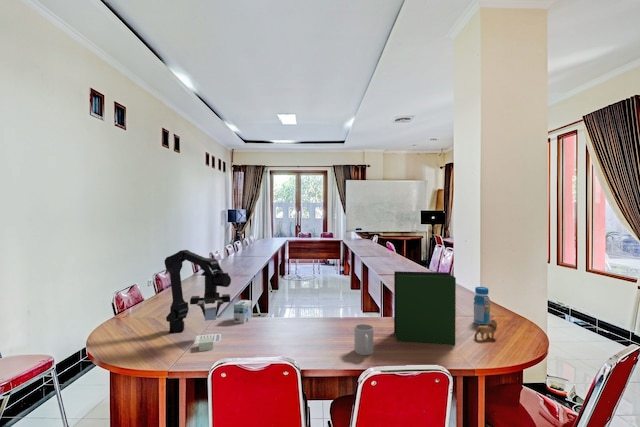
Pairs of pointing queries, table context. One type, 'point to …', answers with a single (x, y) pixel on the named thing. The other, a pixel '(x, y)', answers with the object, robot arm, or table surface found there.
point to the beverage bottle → (481, 306)
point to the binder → (424, 307)
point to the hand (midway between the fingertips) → (210, 316)
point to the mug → (363, 339)
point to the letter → (215, 337)
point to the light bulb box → (242, 311)
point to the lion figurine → (486, 329)
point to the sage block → (206, 344)
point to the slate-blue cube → (210, 313)
